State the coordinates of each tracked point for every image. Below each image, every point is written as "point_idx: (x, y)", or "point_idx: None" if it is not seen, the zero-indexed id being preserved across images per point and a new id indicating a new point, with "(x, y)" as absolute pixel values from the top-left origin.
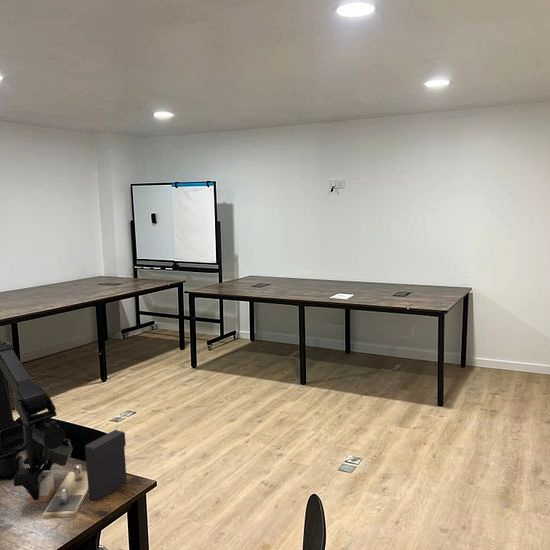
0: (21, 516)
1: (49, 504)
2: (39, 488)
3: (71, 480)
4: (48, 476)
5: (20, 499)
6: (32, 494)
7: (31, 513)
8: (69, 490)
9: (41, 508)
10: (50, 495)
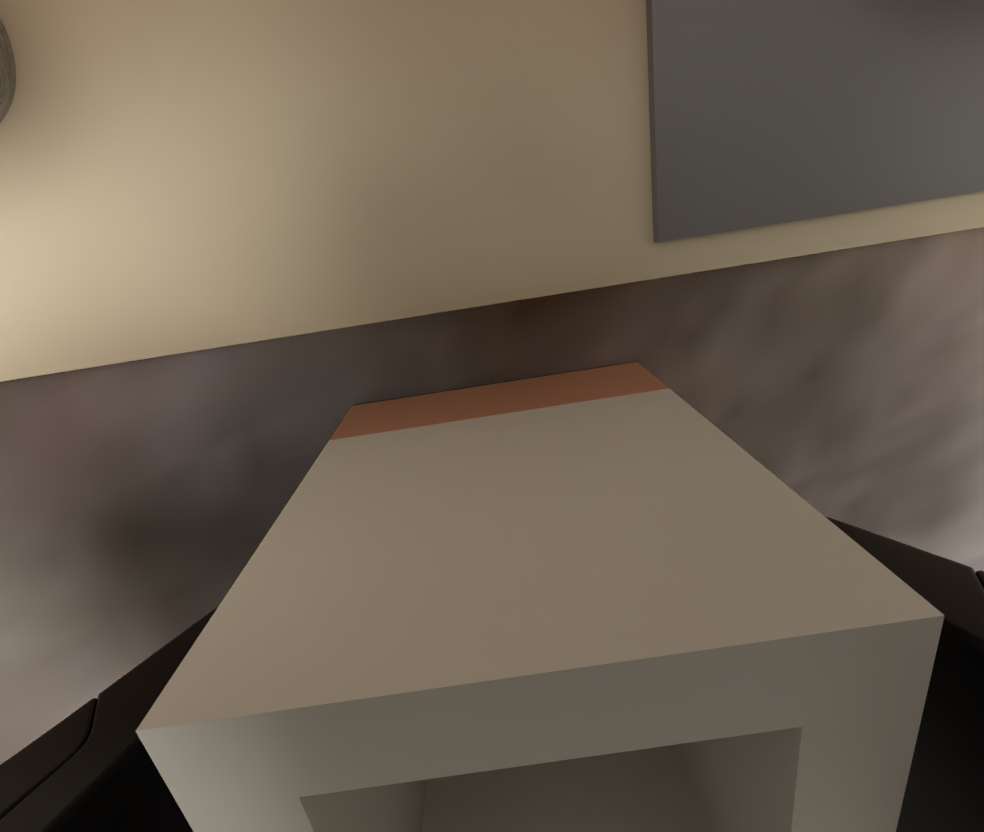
0: (965, 517)
1: (897, 230)
2: (914, 583)
3: (30, 207)
4: (653, 648)
5: None
6: None
7: (927, 433)
8: (409, 42)
9: (827, 359)
10: (529, 386)
